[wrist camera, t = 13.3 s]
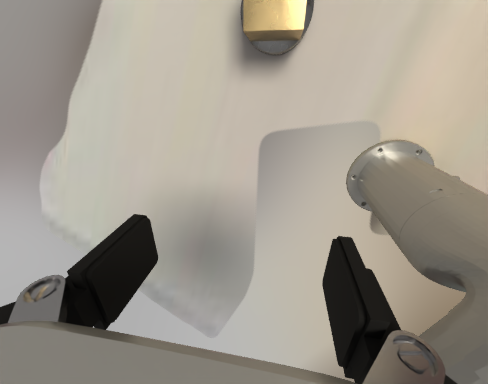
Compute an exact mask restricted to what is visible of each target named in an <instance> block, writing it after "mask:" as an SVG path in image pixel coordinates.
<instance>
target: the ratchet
mask: <svg viewBox="0 0 488 384" xmlns="http://www.w3.org/2000/svg"><path fill="white" fill-rule="evenodd" d="M243 1H244V0H242V3H241V19H242V25H243ZM313 6H314V0H307V2H306V12H305V21H304V30H303V32H302V35H301V38H300V40H301V39H302V38H303V36H304V34H305V33H306V31H307V28H308V26H309V23H310V21H311V17H312V13H313ZM300 40H293V41H251V43H252V44H253V45H254V46H255V47H256V48H257V49H258V50H260V51H261V52H263V53H266V54H270V55H279V54H283V53H285V52H287V51H289V50H291V49H292V48H294V47H295V46H296V45H297V44H298V43H299V42H300Z"/></svg>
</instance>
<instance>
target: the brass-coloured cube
mask: <svg viewBox="0 0 488 384" xmlns="http://www.w3.org/2000/svg"><path fill="white" fill-rule="evenodd" d="M306 2H307V0H244V1H243V31H244V33H245V34H246V35H247V37H248V38H249V40H250V41H293V40H300V38H301V35H302V32H303V30H304V21H305V12H306Z"/></svg>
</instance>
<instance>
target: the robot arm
mask: <svg viewBox="0 0 488 384" xmlns="http://www.w3.org/2000/svg"><path fill="white" fill-rule="evenodd" d="M378 148H379V150H377V149H378ZM416 151H417V152H416ZM352 175H354V176H353V177H351V176H352ZM346 184H347V190H348V192H349V195H350V196H351V198H352V199H353V201H354V202H355V203H356V204H357V205H359V206H360V207H361V208H363V209H366V210H368V211H372V212H374V214H375V215H376V216H377V218H378V219H379V221H380V222H381V223H382V225H383V226H384V228H385V229H386V230H387V232H388V233H389V235H390V236H391V237H392V239H393V240H394V241H395V243H396V244H397V246H398V247H399V249H400V250H401V251H402V253H403V254H404V255H405V257H406V258H407V259H408V261H409V262H410V263H411V264H412V266H413V267H414V268H415V269H416V270H417V271H418V272H420V273H421V274H422V275H424V276H425V277H427V278H428V279H430V280H432V281H434V282H436V283H438V284H441V285H443V286H446V287H449V288H452V289H456V290H459V291H463V292H466V295H465V297H464V299H463V300H462V301H461V302H460V303H459V304H458V305H456V306H455V307H454V308H453V309H452V310H450V311H449V313H448V314H447V315H446V316H445V317H443V318H442V319H441V320H439V321H438V322H437V323H436V324H434V325H433V326H432V327H430V328H429V329H428V330H426V331H425V332H424V333H422V334H421V335H420V336H416V335H415V334H413V333H410V332H407V331H402V330H401V329H400V327H399V324H398V323H397V321H396V318H395V317H394V314H393V312H392V310H391V308H390V306H389V304H388V302H387V300H386V298H385V296H384V294H383V292H382V289H381V287H380V285H379V283H378V281H377V279H376V277H375V275H374V273H373V272H372V270H370V269H366V268H365V265H364V263H363V261H362V259H361V257H360V254H359V252H358V250H357V248H356V246H355V243H354V241H353V239H352V238H351V237H342V236H338V237H337V239H333V241H332V245H331V249H330V253H329V257H328V261H327V265H326V269H325V273H324V277H323V290H324V295H325V301H326V306H327V311H328V316H329V321H330V326H331V331H332V335H333V341H334V346H335V351H336V356H337V361H338V365H339V366H341V367H343V368H344V374H345V377H347V378H352V379H354V381H355V383H354V382H351V381H348V380H344V379H340V378H336V377H333V376H330V375H326V374H321V373H317V372H312V371H308V370H304V369H299V368H295V367H290V366H286V365H281V364H276V363H271V362H266V361H261V360H256V359H251V358H246V357H242V356H236V355H231V354H226V353H222V352H216V351H212V350H207V349H201V348H196V347H191V346H186V345H181V344H176V343H171V342H166V341H161V340H155V339H150V338H145V337H140V336H135V335H129V334H124V333H119V332H114V331H108V330H106V329H107V328H108V326H109V325H110V324H111V323H112V322H114V321H115V320H116V319H117V318H118V316H119V315H120V313H121V312H122V311H123V309H124V308H125V306H126V305H127V304H128V302H129V301H130V300H131V298H132V297H133V295H134V294H135V293H136V291H137V290H138V288H139V287H140V286H141V284H142V283H143V281H144V280H145V279H146V277H147V276H148V275H149V273H150V272H151V270H152V269H153V268H154V266H155V265H156V263H157V261H158V254H157V250H156V245H155V241H154V236H153V232H152V227H151V223H150V220H149V219H148V218H147V216H145V215H137V214H134V215H132V216H131V217H130V218H129V219H128V220H127V221H125V222H124V223H123V224H122V225H121V226H120V227H118V228H117V229H116V230H115V231H114V232H113V233H111V234H110V235H109V236H108V237H107V238H106V239H104V240H103V241H102V242H101V243H100V244H98V245H97V246H96V247H95V248H94V249H93V250H91V251H90V252H89V253H88V254H87V255H86V256H85V257H83V258H82V259H81V260H80V261H79V262H77V263H76V264H75V265H74V266H73V267H72V268H70V269H69V270H68V271H67V273H68V275H69V276H68V277H67V278H64V277H63V276H60V275H52V276H48V277H44V278H42V279H39V280H37V281H35V282H34V283H32V284H30V285H29V286H28V287H26V288H25V289H24V290H23V291H22V292H21V293H20V295H19V296H18V298H17V301H16V302H13V303H11V304H8V305H5V306H2V307H0V384H488V195H487V194H486V193H484V192H482V191H480V190H478V189H476V188H474V187H472V186H470V185H468V184H467V183H465V182H463V181H461V180H460V178H459V177H458V176H451V175H450V174H448V173H446V172H444V171H442V170H440V169H438V168H436V167H435V166H434V161H433V159H432V157H431V155H430V154H429V153H428V152H427V151H426V150H425V149H424V148H423V147H421V146H419V145H418V144H415V143H413V142H409V141H405V140H391V141H385V142H382V143H378V144H376V145H374V146H372V147H370V148H368V149H367V150H365V151H364V152H363V153H361V154H360V155H359V156H358V157H357V158H356V160H355V161H354V162H353V163H352V165H351V167H350V169H349V171H348V174H347V181H346ZM93 326H94V327H95V328H92V327H93Z"/></svg>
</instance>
